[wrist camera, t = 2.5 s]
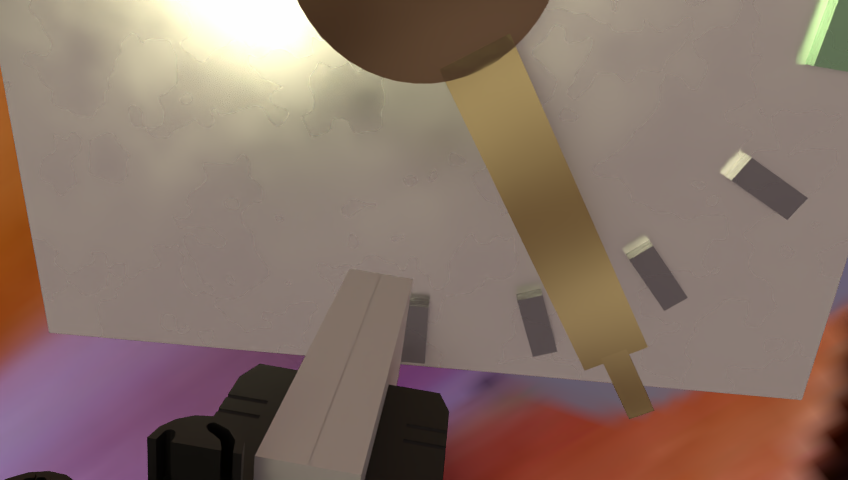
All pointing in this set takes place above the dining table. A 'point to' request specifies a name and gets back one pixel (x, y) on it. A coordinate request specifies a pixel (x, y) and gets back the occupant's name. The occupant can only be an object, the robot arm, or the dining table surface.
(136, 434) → the dining table surface
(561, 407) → the dining table surface
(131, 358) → the dining table surface
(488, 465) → the dining table surface
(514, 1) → the dial
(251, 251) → the tuner plate
